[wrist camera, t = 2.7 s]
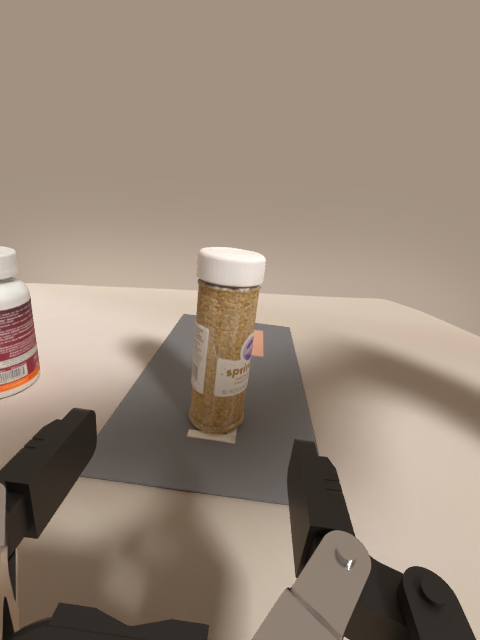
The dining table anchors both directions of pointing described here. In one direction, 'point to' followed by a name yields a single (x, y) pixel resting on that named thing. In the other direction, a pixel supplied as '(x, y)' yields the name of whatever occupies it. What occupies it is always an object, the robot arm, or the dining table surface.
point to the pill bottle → (15, 329)
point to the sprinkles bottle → (223, 336)
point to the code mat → (198, 446)
